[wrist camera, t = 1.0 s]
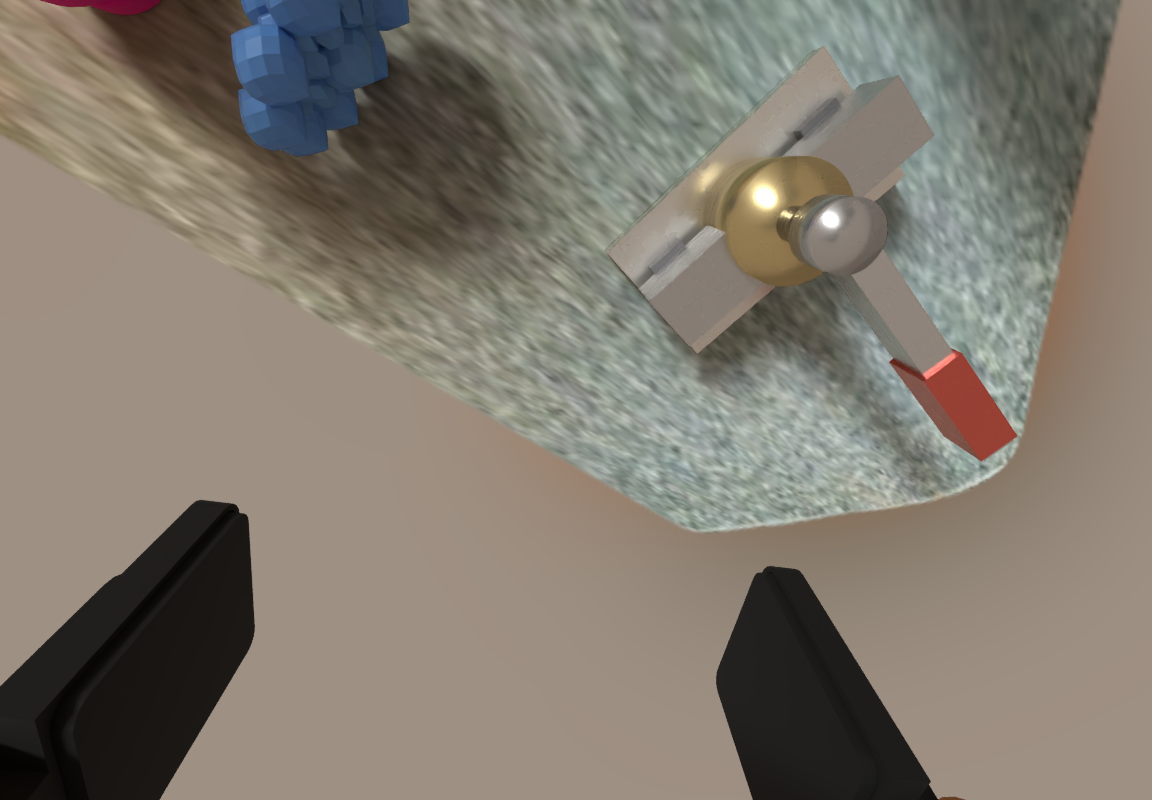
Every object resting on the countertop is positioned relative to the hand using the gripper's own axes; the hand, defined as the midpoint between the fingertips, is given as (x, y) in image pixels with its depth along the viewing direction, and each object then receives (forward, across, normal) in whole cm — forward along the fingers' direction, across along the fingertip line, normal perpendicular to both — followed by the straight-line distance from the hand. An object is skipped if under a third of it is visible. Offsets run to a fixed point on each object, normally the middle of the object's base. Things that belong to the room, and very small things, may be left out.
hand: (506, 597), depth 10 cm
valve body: (+28, -12, -7) cm, 31 cm away
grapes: (+28, +12, -11) cm, 32 cm away
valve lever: (+18, -18, -3) cm, 25 cm away
